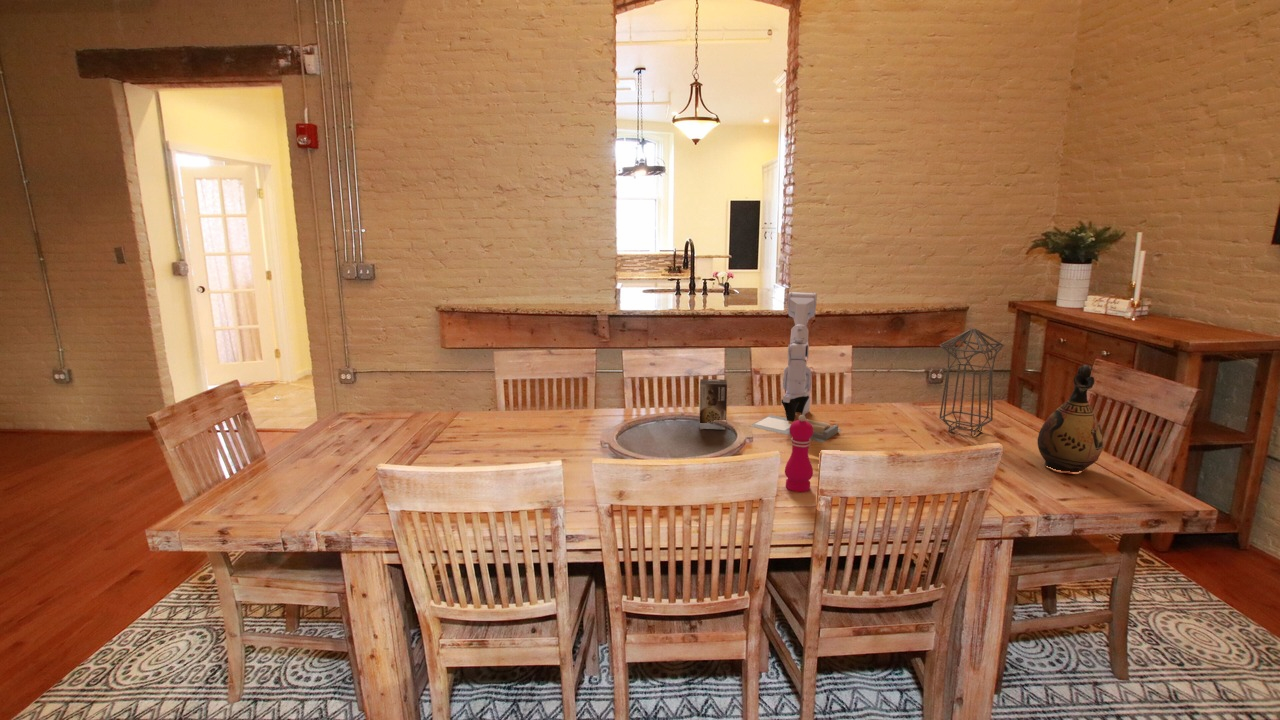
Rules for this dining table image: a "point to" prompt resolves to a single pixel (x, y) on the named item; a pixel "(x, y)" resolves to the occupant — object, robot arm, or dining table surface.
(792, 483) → the pepper mill
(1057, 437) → the ceramic jug
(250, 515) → the dining table surface
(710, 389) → the cookie box
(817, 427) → the birch block
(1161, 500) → the dining table surface
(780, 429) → the lane board
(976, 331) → the geometric lantern
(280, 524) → the dining table surface
